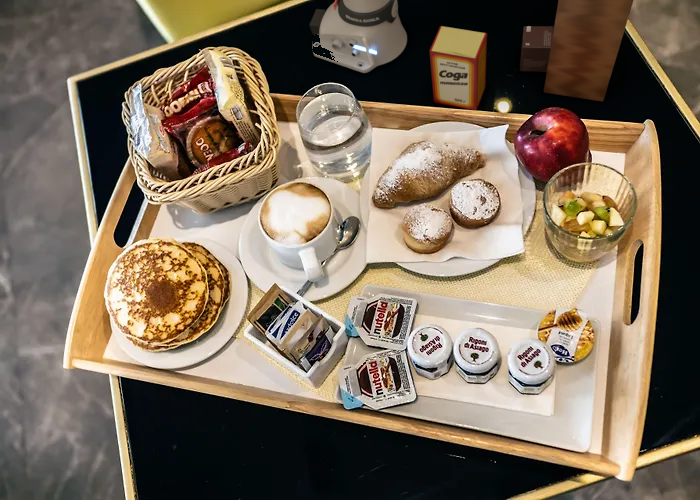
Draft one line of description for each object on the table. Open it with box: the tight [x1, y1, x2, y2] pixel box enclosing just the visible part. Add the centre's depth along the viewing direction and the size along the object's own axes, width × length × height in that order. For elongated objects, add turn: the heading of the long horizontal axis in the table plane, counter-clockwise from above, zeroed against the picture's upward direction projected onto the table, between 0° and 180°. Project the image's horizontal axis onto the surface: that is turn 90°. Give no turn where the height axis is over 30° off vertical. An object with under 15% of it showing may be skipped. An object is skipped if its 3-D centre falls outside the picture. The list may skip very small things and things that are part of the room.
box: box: [519, 25, 554, 73], centre depth 128 cm, size 6×6×7 cm
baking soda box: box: [429, 25, 488, 111], centre depth 124 cm, size 10×6×16 cm
